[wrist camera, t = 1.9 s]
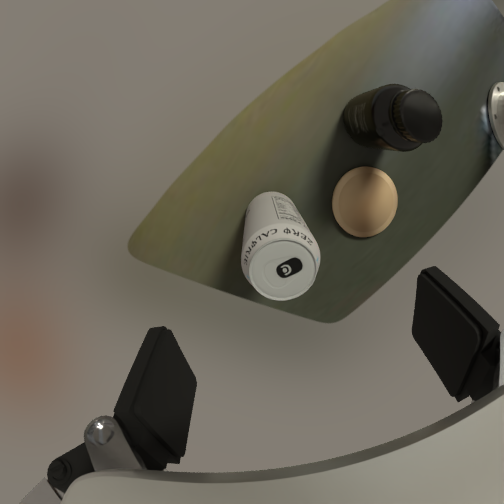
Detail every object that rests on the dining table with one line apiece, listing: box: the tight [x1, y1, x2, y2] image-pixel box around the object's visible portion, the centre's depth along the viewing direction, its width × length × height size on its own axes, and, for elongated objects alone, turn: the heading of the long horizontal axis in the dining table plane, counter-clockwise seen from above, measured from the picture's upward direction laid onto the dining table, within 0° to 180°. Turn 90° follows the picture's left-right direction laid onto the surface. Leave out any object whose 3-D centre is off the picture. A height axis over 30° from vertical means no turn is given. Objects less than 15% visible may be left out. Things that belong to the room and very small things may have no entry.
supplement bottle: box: [344, 84, 442, 152], centre depth 23 cm, size 7×7×12 cm
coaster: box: [332, 166, 398, 237], centre depth 32 cm, size 9×9×1 cm
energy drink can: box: [241, 192, 320, 301], centre depth 26 cm, size 6×6×15 cm
